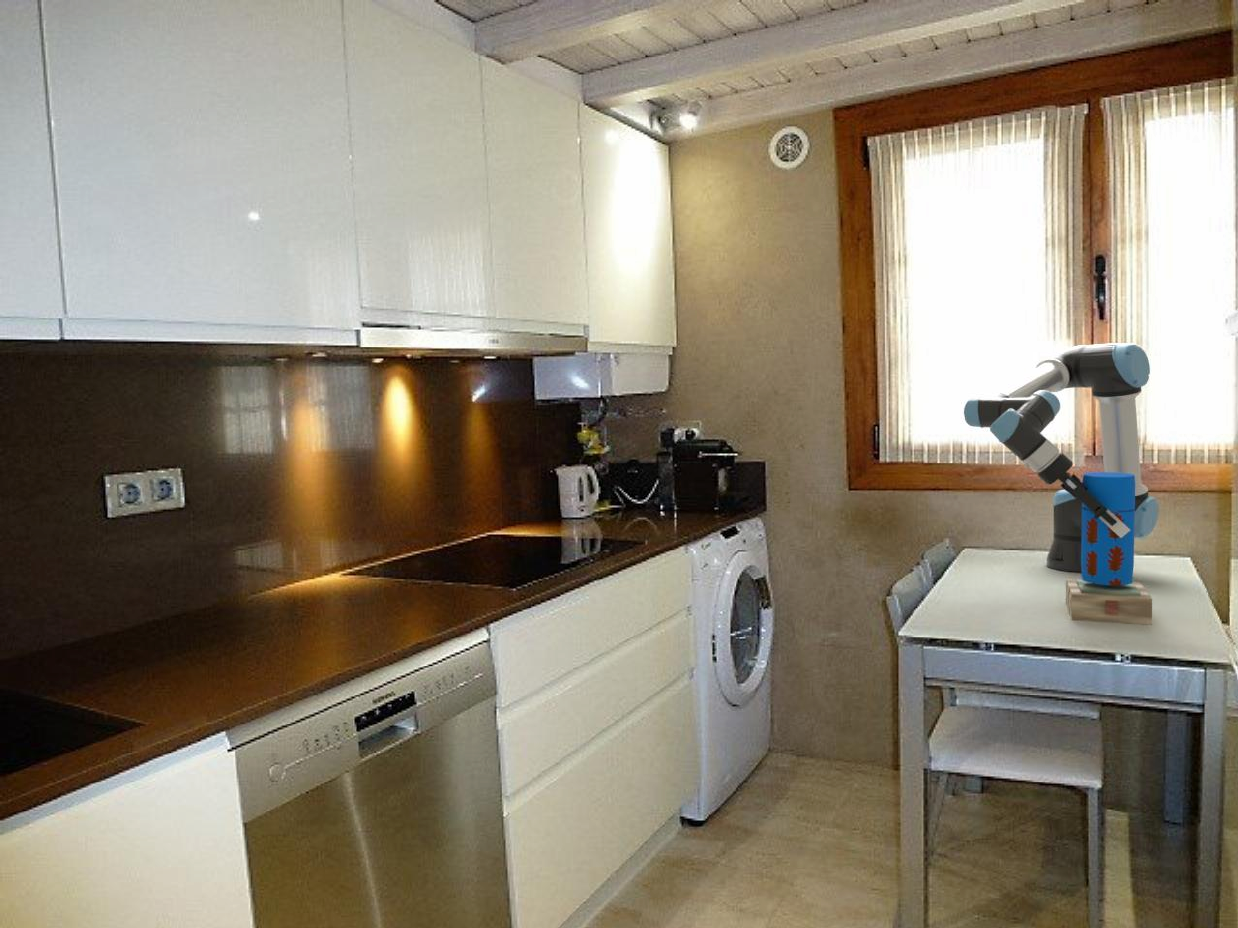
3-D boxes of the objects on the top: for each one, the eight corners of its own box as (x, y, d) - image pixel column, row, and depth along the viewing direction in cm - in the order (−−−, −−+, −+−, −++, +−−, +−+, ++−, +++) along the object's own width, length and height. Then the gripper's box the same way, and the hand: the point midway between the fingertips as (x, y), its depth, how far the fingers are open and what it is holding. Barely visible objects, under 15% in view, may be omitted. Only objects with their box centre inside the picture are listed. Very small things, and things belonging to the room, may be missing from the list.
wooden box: (1065, 602, 219) (1066, 576, 218) (1139, 607, 213) (1140, 580, 212) (1072, 620, 204) (1072, 592, 203) (1152, 625, 198) (1152, 596, 197)
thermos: (1140, 585, 202) (1142, 477, 199) (1089, 585, 204) (1091, 477, 201) (1123, 575, 212) (1125, 471, 210) (1075, 574, 214) (1076, 472, 212)
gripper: (1033, 468, 222) (1102, 532, 218) (1038, 479, 201) (1115, 549, 196) (1057, 447, 220) (1127, 511, 215) (1065, 456, 198) (1143, 526, 194)
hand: (1121, 529), depth 206 cm, fingers closed on thermos, 11 cm apart
